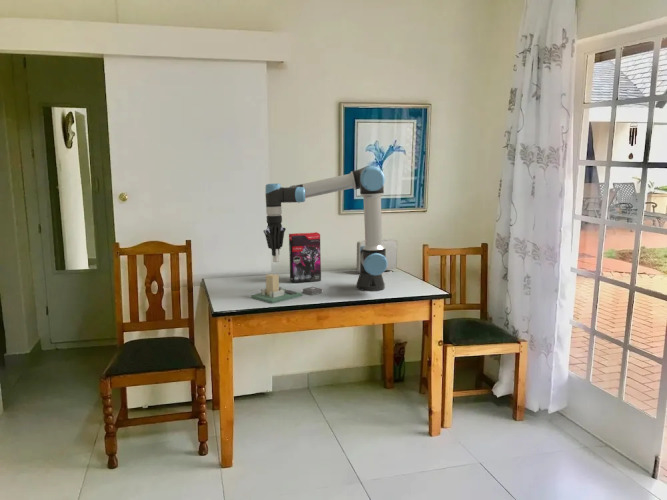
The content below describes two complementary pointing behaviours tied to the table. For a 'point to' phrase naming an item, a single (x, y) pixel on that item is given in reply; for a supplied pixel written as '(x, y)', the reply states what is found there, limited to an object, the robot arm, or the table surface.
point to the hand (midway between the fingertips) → (276, 261)
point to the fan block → (312, 290)
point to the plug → (272, 283)
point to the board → (276, 295)
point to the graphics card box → (305, 257)
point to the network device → (390, 253)
